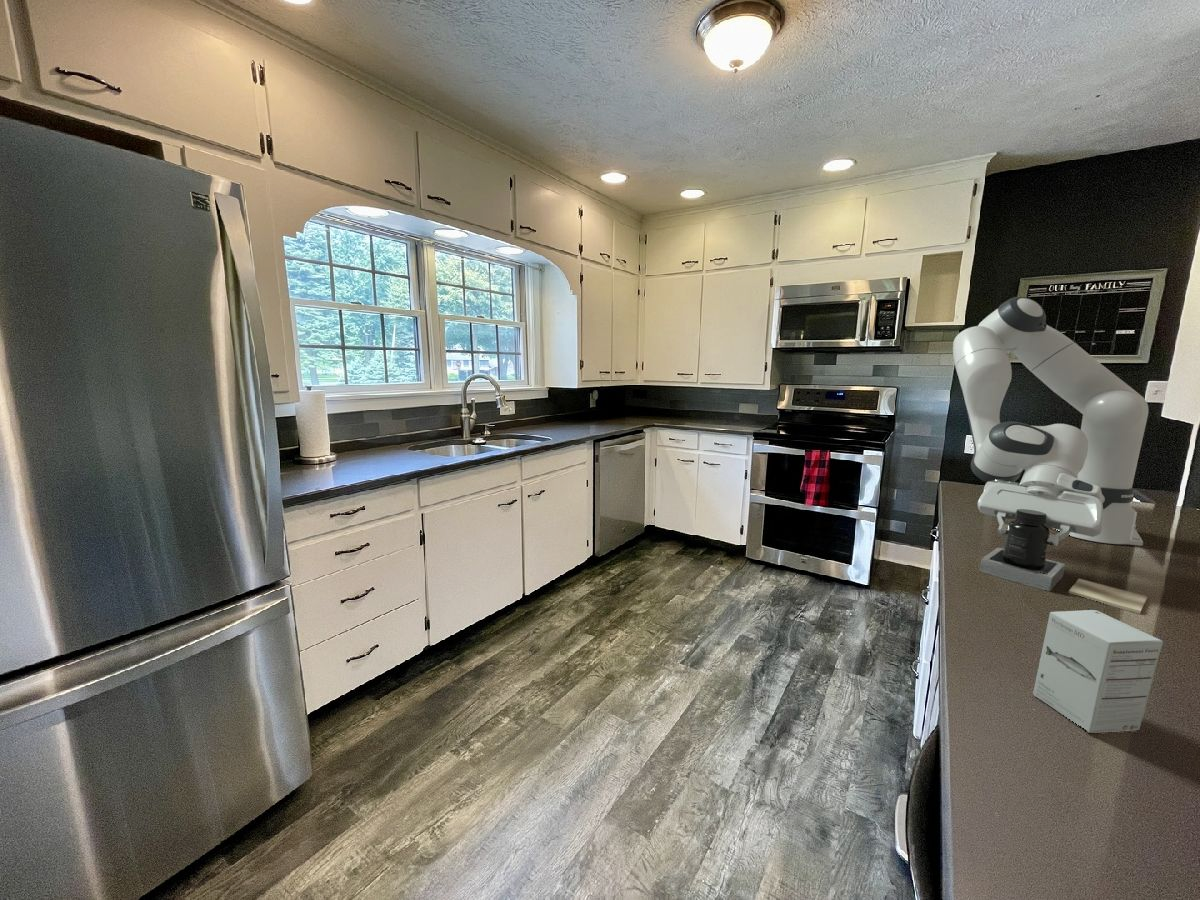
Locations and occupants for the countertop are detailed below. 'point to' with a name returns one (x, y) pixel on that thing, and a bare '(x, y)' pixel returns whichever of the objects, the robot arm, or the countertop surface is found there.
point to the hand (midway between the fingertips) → (1026, 538)
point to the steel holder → (1022, 571)
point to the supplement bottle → (1027, 540)
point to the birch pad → (1109, 595)
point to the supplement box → (1096, 670)
